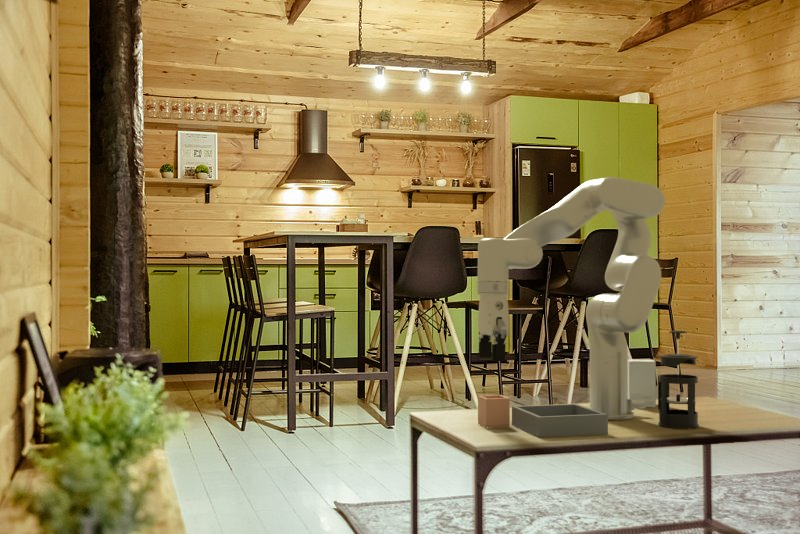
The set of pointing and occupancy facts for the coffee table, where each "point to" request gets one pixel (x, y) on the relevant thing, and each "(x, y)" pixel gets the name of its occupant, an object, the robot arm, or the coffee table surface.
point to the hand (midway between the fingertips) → (491, 359)
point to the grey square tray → (559, 420)
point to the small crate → (494, 411)
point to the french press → (677, 416)
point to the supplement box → (642, 381)
